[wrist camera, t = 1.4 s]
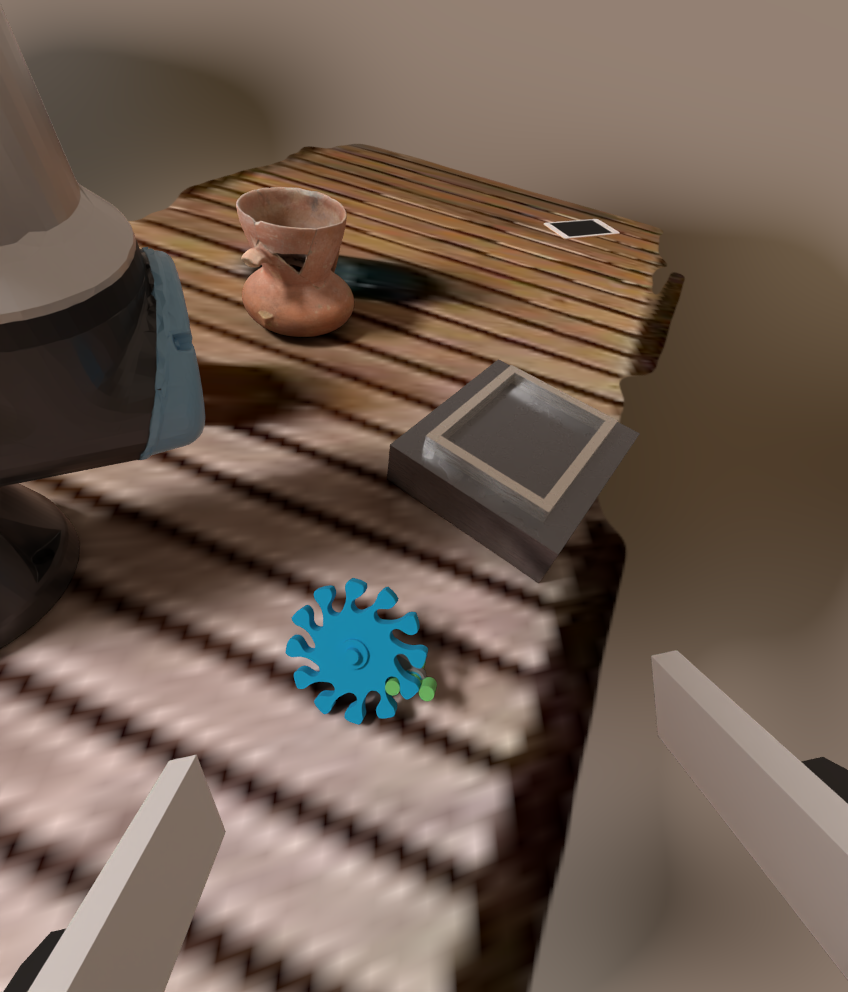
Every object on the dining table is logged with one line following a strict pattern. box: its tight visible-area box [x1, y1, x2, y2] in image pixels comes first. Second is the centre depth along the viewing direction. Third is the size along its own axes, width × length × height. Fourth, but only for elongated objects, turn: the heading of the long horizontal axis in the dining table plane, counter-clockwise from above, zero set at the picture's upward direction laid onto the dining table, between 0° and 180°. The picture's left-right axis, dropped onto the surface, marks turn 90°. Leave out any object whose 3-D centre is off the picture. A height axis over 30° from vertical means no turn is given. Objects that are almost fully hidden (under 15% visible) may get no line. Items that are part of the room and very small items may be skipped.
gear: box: [286, 578, 437, 724], centre depth 32 cm, size 11×6×10 cm
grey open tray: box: [387, 360, 639, 583], centre depth 46 cm, size 18×20×6 cm
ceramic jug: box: [236, 187, 354, 337], centre depth 57 cm, size 18×14×14 cm
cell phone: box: [544, 219, 619, 239], centre depth 98 cm, size 8×16×1 cm, turn 117°
